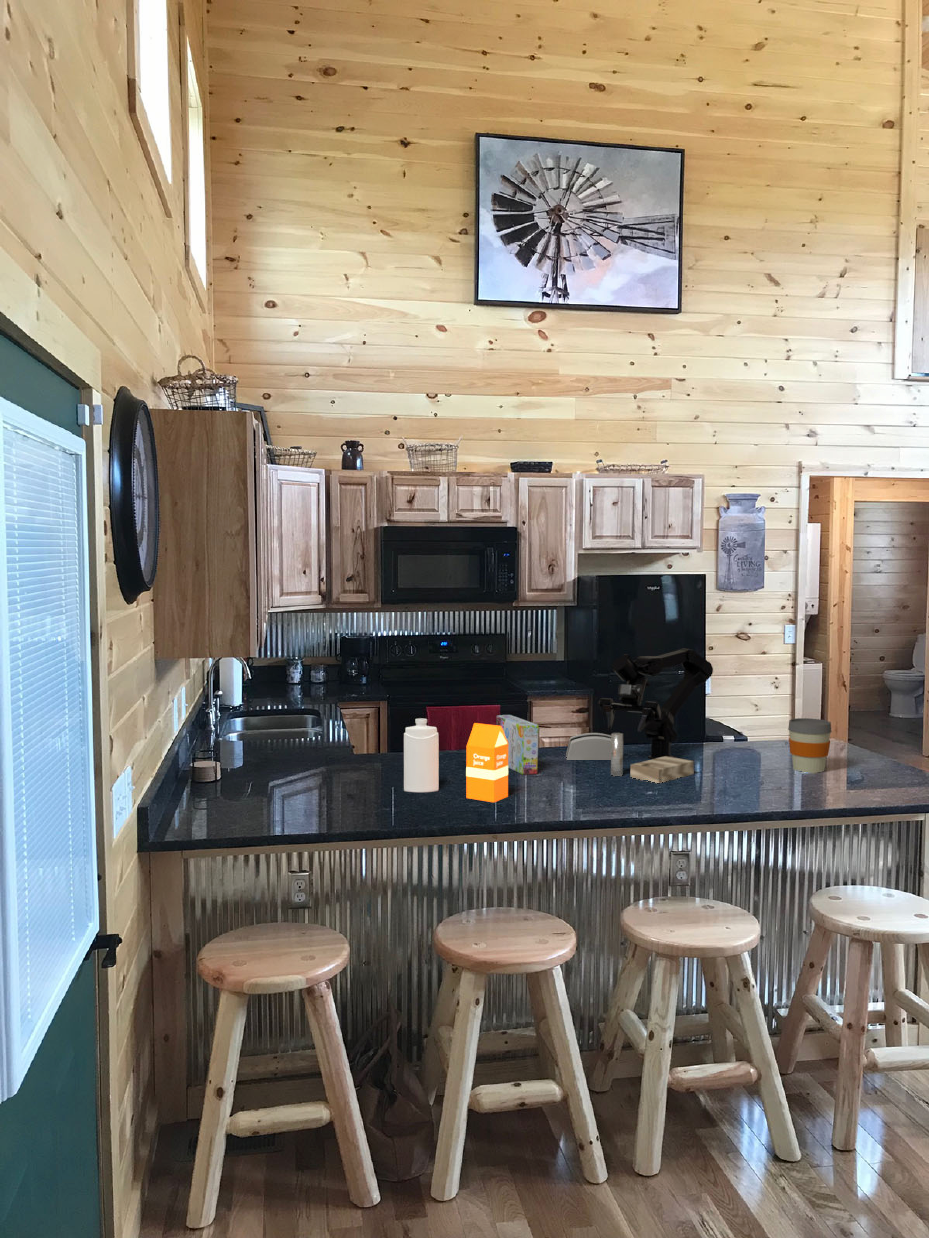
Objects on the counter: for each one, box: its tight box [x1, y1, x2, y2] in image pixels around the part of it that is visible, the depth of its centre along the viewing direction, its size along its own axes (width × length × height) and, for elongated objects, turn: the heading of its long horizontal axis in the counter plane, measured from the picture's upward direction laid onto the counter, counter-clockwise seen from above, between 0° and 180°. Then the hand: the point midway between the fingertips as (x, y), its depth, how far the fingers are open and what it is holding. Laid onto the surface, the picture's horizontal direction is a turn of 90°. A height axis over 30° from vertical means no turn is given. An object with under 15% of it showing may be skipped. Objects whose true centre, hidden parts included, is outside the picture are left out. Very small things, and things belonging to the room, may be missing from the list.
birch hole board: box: [629, 756, 695, 784], centre depth 293 cm, size 18×10×4 cm, turn 134°
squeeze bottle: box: [403, 717, 440, 793], centre depth 274 cm, size 10×20×5 cm
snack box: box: [495, 714, 540, 776], centre depth 304 cm, size 21×6×15 cm, turn 22°
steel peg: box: [610, 732, 624, 777], centre depth 294 cm, size 4×4×12 cm
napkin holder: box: [565, 732, 611, 761], centre depth 316 cm, size 17×5×10 cm, turn 93°
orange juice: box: [465, 722, 509, 803], centre depth 267 cm, size 8×9×20 cm
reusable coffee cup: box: [787, 717, 832, 774], centre depth 302 cm, size 13×13×15 cm
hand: (623, 730), depth 299 cm, fingers open, 9 cm apart
